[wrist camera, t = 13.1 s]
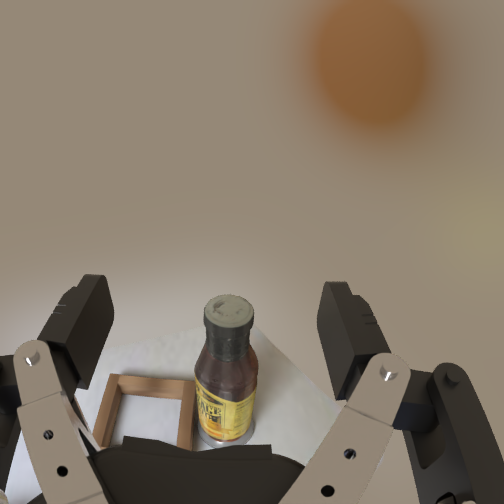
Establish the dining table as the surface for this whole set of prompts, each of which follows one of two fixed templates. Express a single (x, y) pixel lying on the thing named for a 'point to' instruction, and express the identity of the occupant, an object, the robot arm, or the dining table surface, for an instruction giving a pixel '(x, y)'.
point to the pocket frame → (150, 389)
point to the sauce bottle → (226, 369)
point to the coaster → (217, 444)
